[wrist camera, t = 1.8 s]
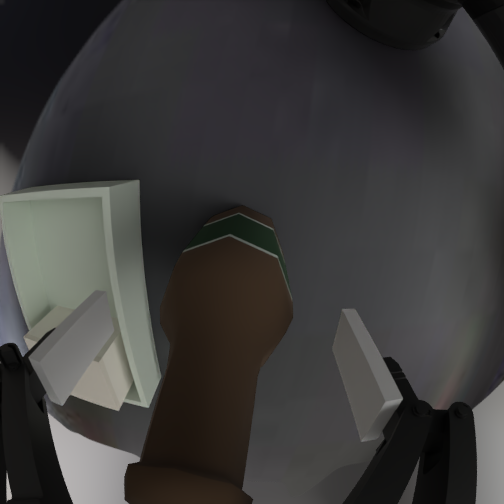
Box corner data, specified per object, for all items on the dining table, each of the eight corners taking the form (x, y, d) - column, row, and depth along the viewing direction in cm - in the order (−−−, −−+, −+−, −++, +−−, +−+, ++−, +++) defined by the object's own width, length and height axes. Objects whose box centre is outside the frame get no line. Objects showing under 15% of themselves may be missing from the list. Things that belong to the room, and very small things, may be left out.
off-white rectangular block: (128, 319, 29) (98, 362, 22) (140, 368, 32) (118, 411, 25) (57, 305, 30) (23, 336, 22) (72, 350, 32) (45, 384, 25)
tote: (139, 179, 25) (109, 187, 19) (161, 376, 34) (148, 407, 28) (31, 187, 25) (-2, 196, 20) (67, 353, 34) (49, 376, 28)
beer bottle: (202, 276, 28) (104, 511, 6) (202, 201, 26) (-7, 400, 3) (278, 281, 28) (299, 541, 5) (284, 205, 25) (384, 477, 3)
